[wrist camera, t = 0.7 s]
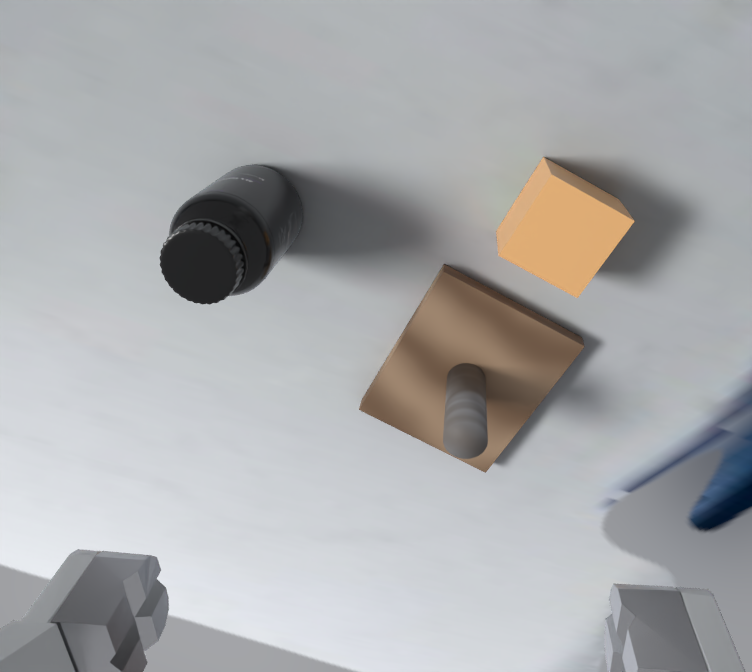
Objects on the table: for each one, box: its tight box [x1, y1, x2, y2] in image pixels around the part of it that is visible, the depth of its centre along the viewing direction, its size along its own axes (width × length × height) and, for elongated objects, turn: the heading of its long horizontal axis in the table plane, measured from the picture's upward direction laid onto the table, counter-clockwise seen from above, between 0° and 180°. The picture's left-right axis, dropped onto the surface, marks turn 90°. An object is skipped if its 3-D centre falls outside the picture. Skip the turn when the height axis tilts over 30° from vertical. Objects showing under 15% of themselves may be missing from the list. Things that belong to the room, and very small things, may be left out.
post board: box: [359, 264, 585, 473], centre depth 48 cm, size 14×12×10 cm
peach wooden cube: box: [496, 157, 634, 298], centre depth 43 cm, size 6×6×5 cm
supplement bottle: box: [160, 165, 303, 304], centre depth 43 cm, size 7×7×12 cm
